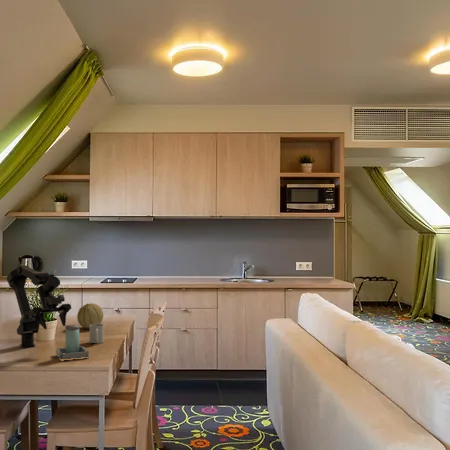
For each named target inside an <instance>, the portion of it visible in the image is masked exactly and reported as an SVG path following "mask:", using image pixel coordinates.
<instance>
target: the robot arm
mask: <svg viewBox="0 0 450 450" xmlns="http://www.w3.org/2000/svg"><path fill="white" fill-rule="evenodd" d="M27 279H29V280H30V282H31V284H33V285H34V286H38V287H37V288H36V289H35V292H36V294H38V296H39V297H38V298H39V300H40V301H39V305H41V306H36V307H32V308H31V305H30V303H29V302H30V301H29V298H28V296H27V291H26V288H25V286H26V283H27ZM6 281H7V284H8V287H9V288H10V289H12V290H13V291H14V293H15V297H16V300H17V304H18V308H19V311H20V315H21V317H20V320H19V325H18V327H17V329H16V334H17V335H20V337H21V339H20V340H21V341H20V342H21V343H20V344H19V347H20V348H21V347H24V348H32V347H36V344H35V342H34V341H35V336H34V335H35V334H38V333H39V329H40V326H41V327H42V328H43V329H44V330H47V323H46V320H45V318H44V317H45V314H50V313H56V312H57V313H58V318H59V320H60V322H61V325H62V326H63V327H65V326H66V321H67V313H69V311H70V310H71V309H72V305H71V304H70V303H69V302H68V303H62V302H65V301H66V300H65V298H66V297H65V296H64V294H59V295H58V296H56V295H53V292H54V291H55V290H56V289H57V288H58V287H59V286H60V285H61V280H60V279H59V278H58V277H57V276H55V275H54V273H52V274H49V273H48V272H45V271H43V272H42V271H38V270H35V269H33V268H32V267H30V266H28V265H19V266H17V267H16V268H15V269H14V270H11V271H10V272H9V273H8V275H7V276H6ZM60 304H61V305H60ZM59 305H60V306H59Z"/></svg>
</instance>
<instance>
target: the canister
mask: <svg viewBox="0 0 450 450" xmlns="http://www.w3.org/2000/svg"><path fill="white" fill-rule="evenodd" d="M64 327H65V328H64V329H65V340H64V341H65V343H64V344H65V347H64V348H65V354H67V353H76V352H79V346H80V327H81V325H80V324H68V325H67V324H66V325H65V326H64Z"/></svg>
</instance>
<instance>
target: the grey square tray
mask: <svg viewBox="0 0 450 450" xmlns="http://www.w3.org/2000/svg"><path fill="white" fill-rule="evenodd" d="M55 351H56V353H55V354H57V355H58V357H59V358H60V359H71V358H81V357H88V358H89V357H90V356H89V350H88V349H86V347H84V345H79V352H76V353H67V354H63V353H65V347H59V348H56V350H55ZM57 355H56V356H57ZM58 357H57V358H58ZM59 358H58V359H59Z"/></svg>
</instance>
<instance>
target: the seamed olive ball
mask: <svg viewBox="0 0 450 450" xmlns="http://www.w3.org/2000/svg"><path fill="white" fill-rule="evenodd" d="M103 318H104V311H103V309H102V307H101V306H100V305H98V304H96V303H92V302H89V303H86V304H84V305H82V306H81V307H80V308H79V309H78V311H77V315H76V319H77V322H78V325H80V327H82V328H84V329H87V330H90V325H91V324H102V322H103V320H104V319H103Z"/></svg>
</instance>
